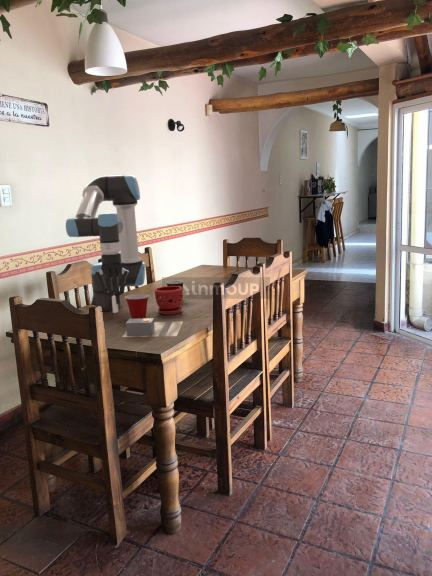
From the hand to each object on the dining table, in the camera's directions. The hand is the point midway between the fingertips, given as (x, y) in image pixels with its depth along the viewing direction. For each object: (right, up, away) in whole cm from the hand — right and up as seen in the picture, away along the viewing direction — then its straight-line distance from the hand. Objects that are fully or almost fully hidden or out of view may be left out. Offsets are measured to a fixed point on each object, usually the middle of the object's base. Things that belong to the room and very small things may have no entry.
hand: (115, 311), depth 191 cm
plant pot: (+18, -2, +38) cm, 42 cm away
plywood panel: (+14, -9, +8) cm, 18 cm away
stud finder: (+10, -9, +2) cm, 13 cm away
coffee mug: (+19, +3, +61) cm, 64 cm away
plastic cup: (+5, -6, +25) cm, 26 cm away
